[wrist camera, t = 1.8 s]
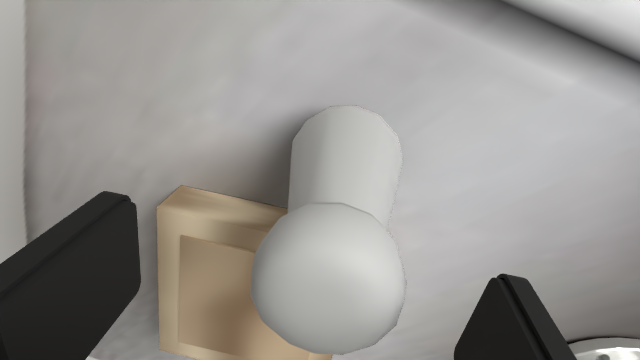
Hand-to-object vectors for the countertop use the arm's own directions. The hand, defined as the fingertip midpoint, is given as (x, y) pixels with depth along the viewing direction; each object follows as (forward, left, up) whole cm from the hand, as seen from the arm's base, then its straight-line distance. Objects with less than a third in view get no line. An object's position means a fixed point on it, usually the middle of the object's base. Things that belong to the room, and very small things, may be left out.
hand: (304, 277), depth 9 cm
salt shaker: (-1, 0, -13) cm, 13 cm away
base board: (+3, +11, -12) cm, 17 cm away
